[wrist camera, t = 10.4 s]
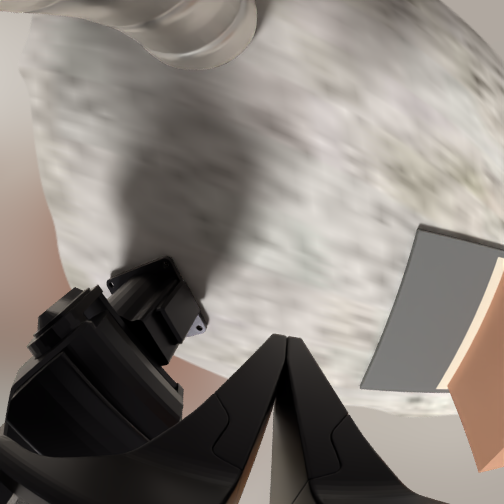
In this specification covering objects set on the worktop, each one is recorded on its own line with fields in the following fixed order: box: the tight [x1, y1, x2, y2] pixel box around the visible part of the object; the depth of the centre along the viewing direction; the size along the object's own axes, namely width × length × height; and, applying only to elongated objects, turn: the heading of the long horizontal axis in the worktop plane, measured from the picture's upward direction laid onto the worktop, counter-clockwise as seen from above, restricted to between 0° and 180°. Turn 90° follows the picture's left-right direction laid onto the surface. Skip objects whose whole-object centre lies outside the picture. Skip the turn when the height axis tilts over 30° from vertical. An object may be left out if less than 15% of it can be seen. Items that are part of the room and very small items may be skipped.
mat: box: [360, 229, 504, 393], centre depth 20 cm, size 24×14×1 cm, turn 83°
